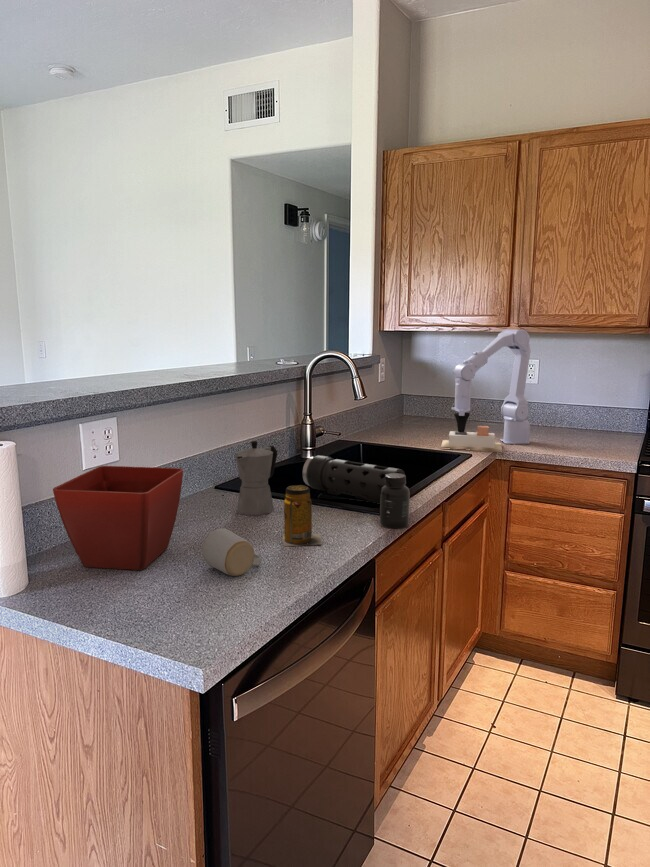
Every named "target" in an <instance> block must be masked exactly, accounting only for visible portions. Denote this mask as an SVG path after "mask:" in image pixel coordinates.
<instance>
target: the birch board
mask: <svg viewBox="0 0 650 867" xmlns="http://www.w3.org/2000/svg"><path fill="white" fill-rule="evenodd" d="M441 448H450V449H470V450H482V451H481V452H488V451H491V452H492V453H503V447H502V442H496V441H495V445H494V448H485V447H465V446H449V439H442V442H441V446H440V449H441ZM491 452H490V453H491Z"/></svg>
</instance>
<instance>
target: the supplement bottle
mask: <svg viewBox="0 0 650 867" xmlns="http://www.w3.org/2000/svg"><path fill="white" fill-rule="evenodd" d="M385 484H386V485H384V486H383V487H382V488H381V493H380V503H379V523H380V525H381V526H382V527H384V528H388V529H393V530H398V529H399V530H400V529H404V528H407V527H408V525H409V523H410V522H409V521H410V496H411V493H410V488H409V487H408V486H407V476H406V474H405V475H404V474H399V473H390V474H386V475H385ZM405 484H406V486H405Z"/></svg>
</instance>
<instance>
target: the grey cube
mask: <svg viewBox="0 0 650 867" xmlns="http://www.w3.org/2000/svg"><path fill="white" fill-rule="evenodd" d="M455 431H456V435H467V432H468V431H466V430H465V431H464V432H458V430H455Z"/></svg>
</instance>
